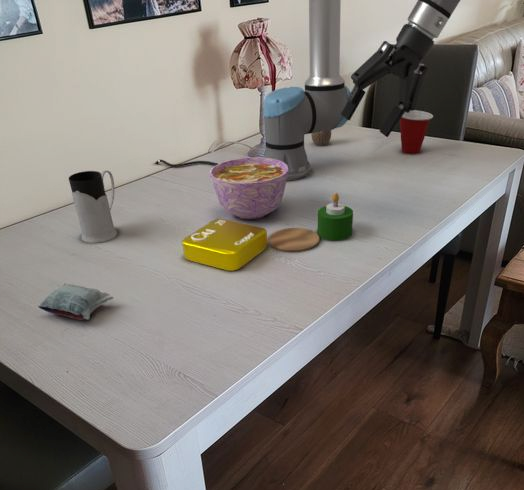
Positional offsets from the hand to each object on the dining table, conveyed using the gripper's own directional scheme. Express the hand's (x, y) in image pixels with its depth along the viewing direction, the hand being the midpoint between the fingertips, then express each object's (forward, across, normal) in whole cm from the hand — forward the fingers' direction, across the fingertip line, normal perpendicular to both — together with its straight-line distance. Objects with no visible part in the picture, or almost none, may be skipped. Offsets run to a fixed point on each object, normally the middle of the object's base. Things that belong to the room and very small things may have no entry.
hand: (364, 126), depth 124 cm
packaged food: (+50, -56, -13) cm, 76 cm away
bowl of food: (+33, -8, +11) cm, 36 cm away
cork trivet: (+28, -10, -9) cm, 30 cm away
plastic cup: (+7, +53, +28) cm, 61 cm away
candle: (+23, -1, -10) cm, 25 cm away
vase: (+21, +39, +52) cm, 68 cm away
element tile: (+36, -24, -6) cm, 43 cm away
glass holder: (+51, -40, +21) cm, 69 cm away
